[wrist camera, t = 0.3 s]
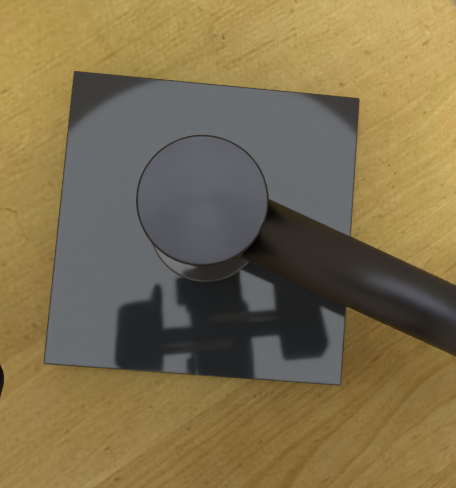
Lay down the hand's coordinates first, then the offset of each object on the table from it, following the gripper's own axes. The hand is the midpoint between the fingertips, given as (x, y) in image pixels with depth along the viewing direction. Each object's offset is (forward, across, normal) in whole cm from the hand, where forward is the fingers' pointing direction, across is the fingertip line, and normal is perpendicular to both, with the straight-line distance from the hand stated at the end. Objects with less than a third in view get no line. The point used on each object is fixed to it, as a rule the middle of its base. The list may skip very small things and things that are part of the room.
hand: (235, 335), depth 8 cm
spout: (+6, -6, +4) cm, 9 cm away
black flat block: (+13, 0, +4) cm, 14 cm away
